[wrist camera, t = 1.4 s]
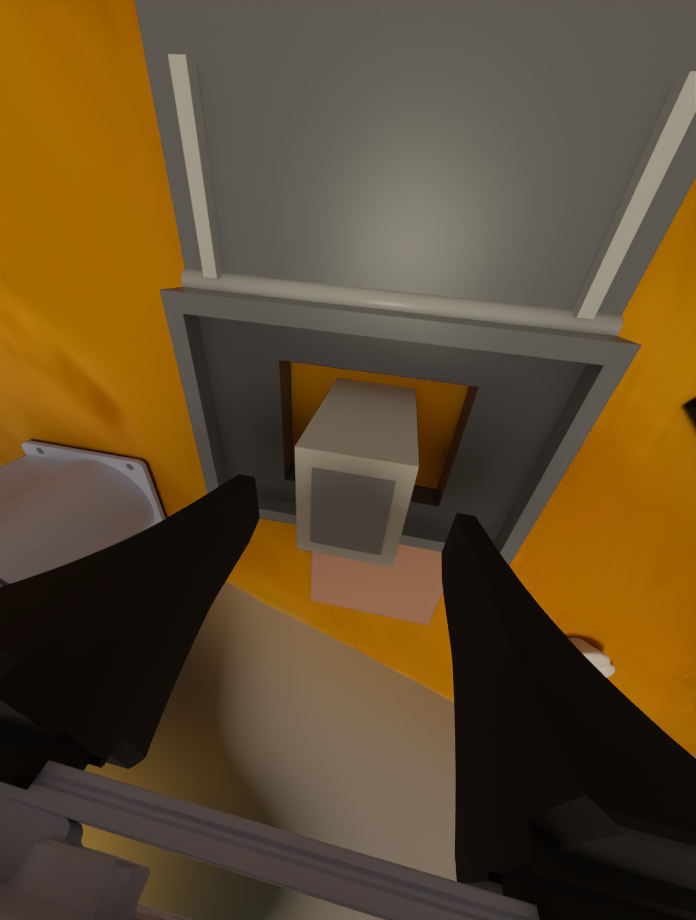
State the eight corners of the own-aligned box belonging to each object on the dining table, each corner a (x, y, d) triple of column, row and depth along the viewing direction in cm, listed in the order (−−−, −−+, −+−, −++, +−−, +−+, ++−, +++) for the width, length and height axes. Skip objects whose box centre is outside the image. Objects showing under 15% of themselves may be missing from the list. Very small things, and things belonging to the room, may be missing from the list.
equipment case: (232, 493, 21) (213, 518, 19) (94, -297, 7) (-31, -516, 5) (494, 540, 20) (504, 573, 18) (971, -377, 6) (1298, -750, 4)
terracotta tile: (312, 593, 26) (310, 600, 26) (314, 510, 21) (312, 516, 20) (427, 617, 26) (427, 625, 25) (462, 537, 20) (463, 544, 19)
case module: (332, 458, 18) (296, 550, 12) (337, 377, 16) (293, 448, 10) (398, 469, 18) (392, 569, 12) (415, 388, 15) (419, 468, 9)
